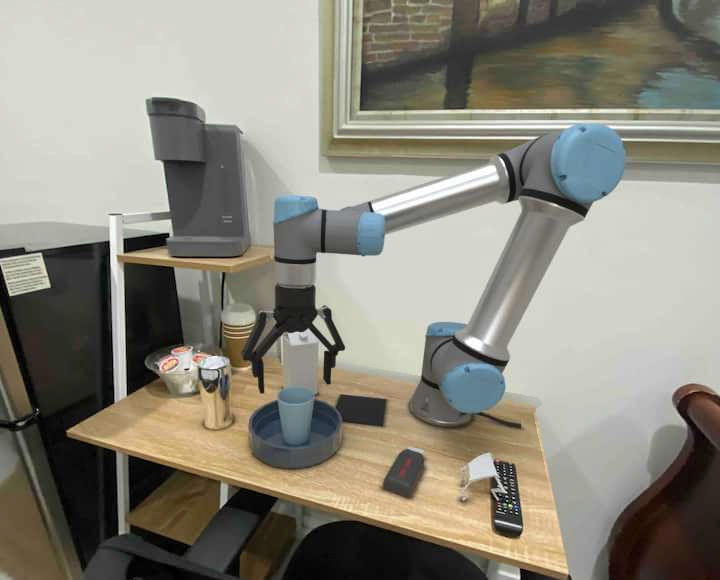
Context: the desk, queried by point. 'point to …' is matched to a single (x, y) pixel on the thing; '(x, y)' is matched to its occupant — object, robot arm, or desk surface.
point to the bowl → (281, 454)
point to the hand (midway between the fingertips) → (295, 386)
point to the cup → (296, 413)
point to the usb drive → (405, 472)
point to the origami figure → (481, 472)
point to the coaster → (361, 409)
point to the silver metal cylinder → (215, 390)
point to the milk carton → (300, 360)
